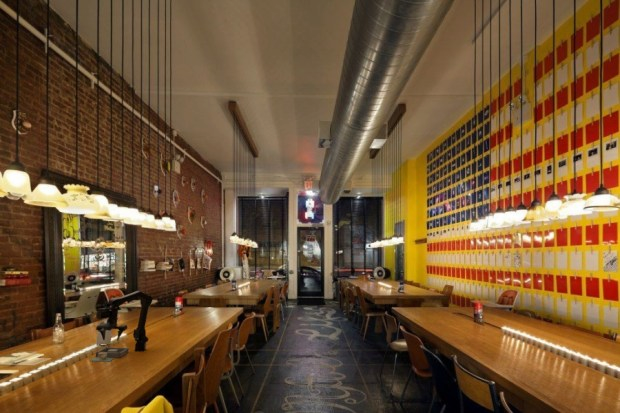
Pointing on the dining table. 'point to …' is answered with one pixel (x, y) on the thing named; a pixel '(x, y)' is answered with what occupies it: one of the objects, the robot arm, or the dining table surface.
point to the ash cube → (102, 356)
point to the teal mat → (102, 360)
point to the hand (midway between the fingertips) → (110, 340)
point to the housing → (113, 352)
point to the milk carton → (107, 335)
